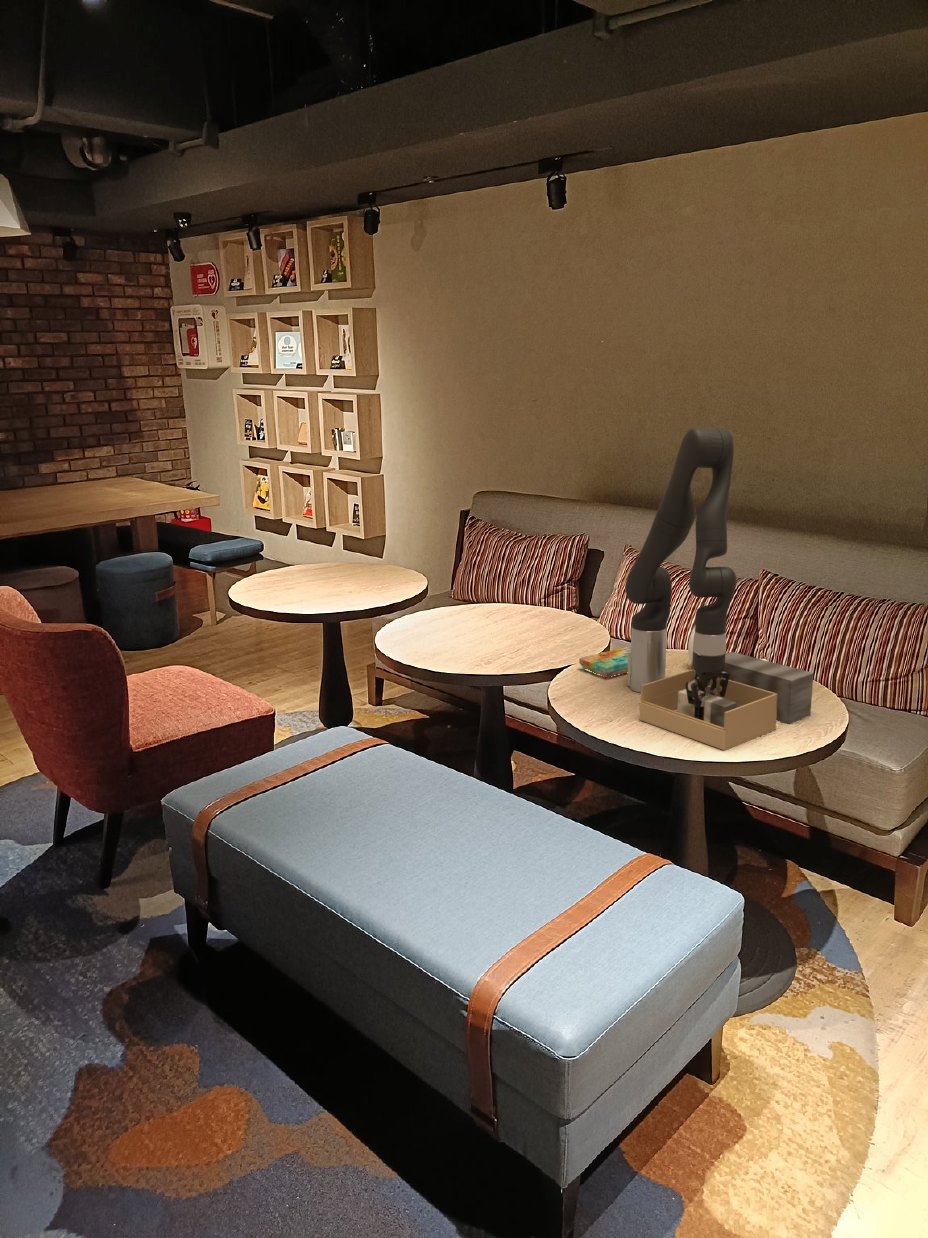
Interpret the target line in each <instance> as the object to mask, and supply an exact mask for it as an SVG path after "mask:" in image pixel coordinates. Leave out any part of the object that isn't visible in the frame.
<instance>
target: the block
mask: <svg viewBox="0 0 928 1238" xmlns="http://www.w3.org/2000/svg"><path fill="white" fill-rule="evenodd" d="M699 692H701V693H704V692H702V691H699ZM693 699H694V698H693ZM700 700H701V696H699V701H700ZM735 708H737V702H733V701H730V700H727V699H724V698H721V697H718V696H715V695H712V694H709V695H708V697H707V698H706V700H705V704H704V720H703V721H705V722H708V723H711V724H714V725H717V726H720V727H723V728H724V717H725V712H727V711H730V710H732V709H735ZM676 710H677V711H676V712H679V713H682V714H684V715H687V716H690V717H693V718H695V717H694V711H695V705H693V704H689V703H688V698H687V692H686V689H684V690H681V691H678V706H677V709H676Z"/></svg>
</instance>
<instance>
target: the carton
mask: <svg viewBox="0 0 928 1238" xmlns="http://www.w3.org/2000/svg"><path fill="white" fill-rule="evenodd" d="M694 676H695V670H694V668H692V669H689V670H685V671H684V672H680V673H677V674H673V675H670V676H667V677H665V678H663V679H660V680H657V681H654V682H651V683H648V684H644V685H641V693H640V702H639V721H642V722H645V723H648V724H650V725H653V726H656V727H659V728H661V729H664V730H667V731H670V732H673V733H676V734H679V735H681V736H684V737H686V738H689V739H691V740H694V741H698V742H700V743H703V744H706V745H709V746H711V747H714V748H717V749H719V750H723V751H726V750H729V749H732V748H734V747H736V746H740V745H741V744H744V743H746V742H747V743H748V742H749V741H752V740H755V739H756V738H759V737H762V736H764V735H766V734H769V733H771V732H773V731H776V729H777V720H776V717H777V702H778V694H777V693H773V692H770V691H766V690H763V689H759V688H756V687H752V686H749V685H745V684H742V683H738V682H735V681H731V680H729V681H728V685H727V689H726V693H725V696H724V697H721V698H724V699H727V700H730V701H733V702H737V708H735V709H732V710H730V711H727V712H725V717H724V728H723V727H720V726H717V725H714V724H711V723H708V722H705V721H702V720H699V719H696V718H693V717H690V716H687V715H684V714H682V713H679V712H677V711H675V710H677V706H678V691H681V690H684V689H686V686H685V684H686V682H691V681H693V680H694ZM720 689H721V691H722V686H720ZM699 691H700V690H699ZM702 692H703V691H702Z"/></svg>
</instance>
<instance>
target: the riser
mask: <svg viewBox="0 0 928 1238" xmlns="http://www.w3.org/2000/svg"><path fill="white" fill-rule="evenodd" d="M761 659H762V658H756V657H753V656H749V655H747V654H746V655H745V654H742V653H739V652H738V653H737V652H735V651H734V652H733V651H731V652H730V651H729V652H726V656H725V669H724V670H723V672H726V673H729V674H730V676H729V680H731V681H735V682H738V683H742V684H745V685H749V686H752V687H756V688H759V689H763V690H766V691H770V692H773V693H777V694H778V702H777V717H776V722H780V723H784V724H787V725H790V724H793V723H795V722H797V721H800V720H802V719H804V718H807V717H810V716H811V712H812V710H811V709H812V699H813V698H812V696H813V685H814V684H813V683H814V672H811V671H808V670H803V669H799V668H795V667H791V666H788V665H785V664H784V665H783V664H781V663H776V662H772V661H769V660H767V661H765V660H761Z"/></svg>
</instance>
